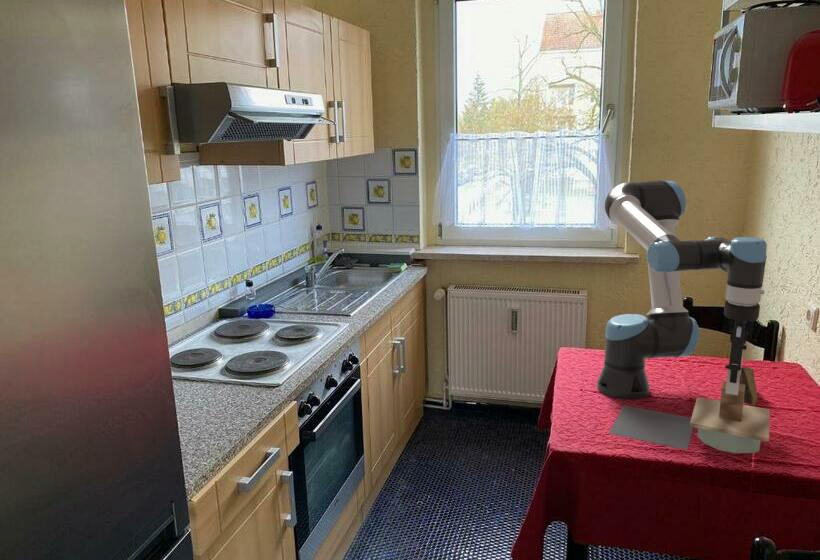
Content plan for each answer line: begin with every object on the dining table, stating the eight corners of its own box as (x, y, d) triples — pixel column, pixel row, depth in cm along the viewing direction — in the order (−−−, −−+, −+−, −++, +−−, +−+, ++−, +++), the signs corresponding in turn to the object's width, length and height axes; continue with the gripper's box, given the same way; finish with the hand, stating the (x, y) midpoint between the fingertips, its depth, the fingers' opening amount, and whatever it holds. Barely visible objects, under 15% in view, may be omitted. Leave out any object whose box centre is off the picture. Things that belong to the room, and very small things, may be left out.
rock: (741, 378, 189) (720, 381, 184) (761, 362, 184) (740, 364, 179) (764, 409, 183) (743, 412, 178) (786, 393, 177) (764, 396, 172)
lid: (689, 426, 152) (692, 392, 150) (697, 400, 167) (699, 369, 165) (768, 441, 144) (772, 406, 142) (769, 412, 158) (773, 380, 156)
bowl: (695, 447, 154) (697, 425, 153) (700, 424, 166) (702, 403, 165) (759, 460, 147) (761, 437, 146) (760, 435, 159) (762, 414, 158)
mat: (608, 435, 161) (608, 433, 161) (623, 407, 177) (623, 405, 177) (687, 452, 152) (687, 449, 152) (695, 420, 168) (695, 418, 168)
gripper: (759, 318, 136) (748, 406, 141) (761, 290, 157) (752, 368, 162) (721, 314, 139) (712, 399, 145) (728, 287, 160) (720, 363, 166)
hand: (733, 383), depth 153 cm, fingers open, 13 cm apart
